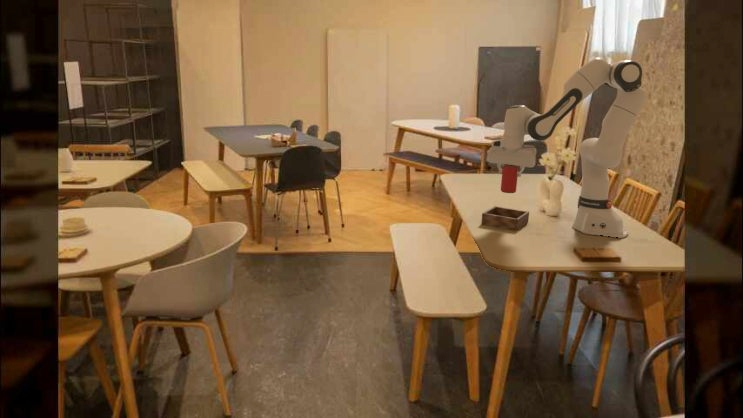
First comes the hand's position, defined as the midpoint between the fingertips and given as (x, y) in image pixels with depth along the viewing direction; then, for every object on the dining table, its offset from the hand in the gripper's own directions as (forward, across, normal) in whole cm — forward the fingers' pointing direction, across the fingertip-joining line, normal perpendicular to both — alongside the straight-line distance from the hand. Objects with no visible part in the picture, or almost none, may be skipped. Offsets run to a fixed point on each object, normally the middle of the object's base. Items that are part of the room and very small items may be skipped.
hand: (509, 175), depth 248 cm
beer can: (+8, 0, 0) cm, 8 cm away
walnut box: (+22, 0, 0) cm, 22 cm away
